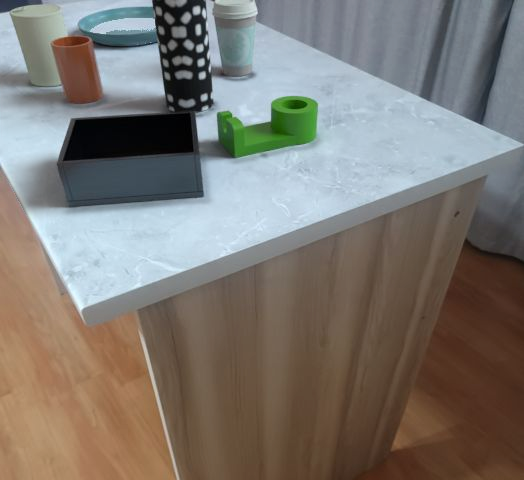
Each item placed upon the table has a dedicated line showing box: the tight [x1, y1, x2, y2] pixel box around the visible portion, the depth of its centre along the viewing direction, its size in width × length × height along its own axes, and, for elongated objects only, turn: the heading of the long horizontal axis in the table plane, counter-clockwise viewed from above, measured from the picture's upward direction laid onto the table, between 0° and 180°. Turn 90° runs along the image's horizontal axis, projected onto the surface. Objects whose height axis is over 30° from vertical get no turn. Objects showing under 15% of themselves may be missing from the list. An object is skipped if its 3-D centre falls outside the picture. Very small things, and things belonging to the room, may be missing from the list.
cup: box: [50, 35, 105, 104], centre depth 91 cm, size 7×7×9 cm
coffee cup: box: [211, 0, 259, 77], centre depth 99 cm, size 8×8×12 cm
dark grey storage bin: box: [55, 110, 205, 208], centre depth 70 cm, size 17×14×6 cm
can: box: [9, 3, 69, 88], centre depth 97 cm, size 9×9×12 cm
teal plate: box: [77, 6, 158, 47], centre depth 122 cm, size 24×24×3 cm
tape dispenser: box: [216, 95, 319, 159], centre depth 79 cm, size 15×7×5 cm, turn 115°
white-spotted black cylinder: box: [151, 0, 215, 113], centre depth 84 cm, size 8×8×20 cm
